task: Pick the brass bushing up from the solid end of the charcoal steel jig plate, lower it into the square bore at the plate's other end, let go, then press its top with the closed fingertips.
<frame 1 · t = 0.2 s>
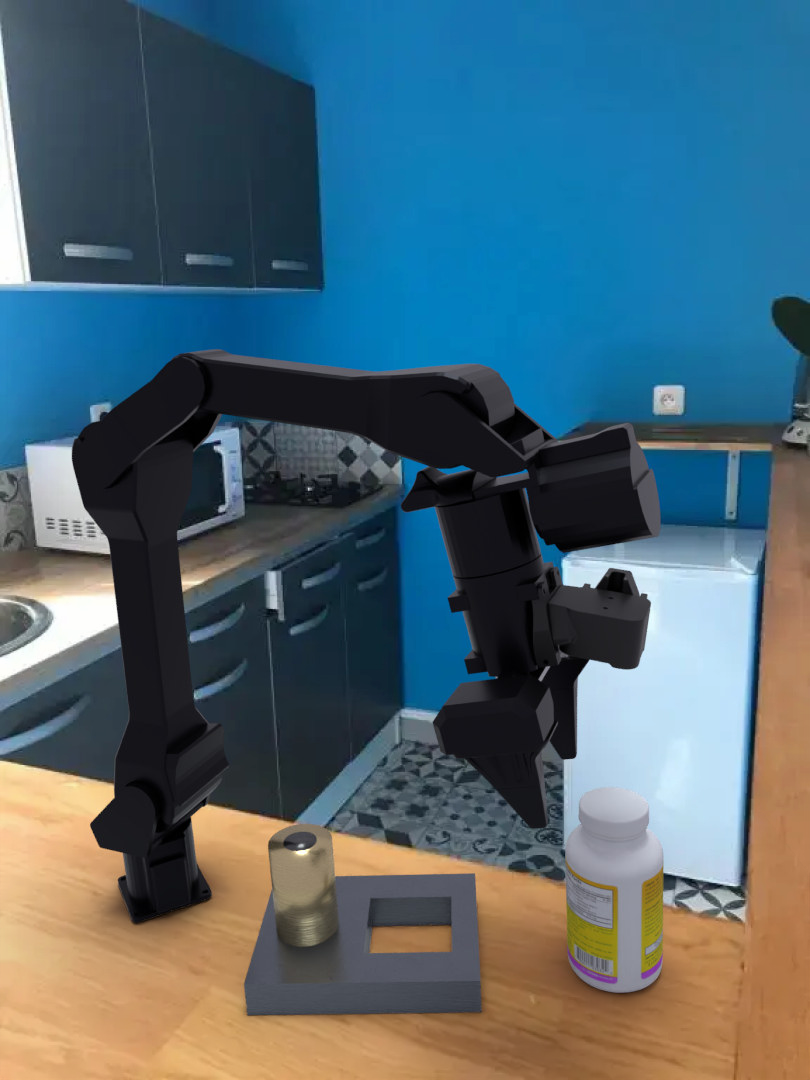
hand: (555, 790, 61), 15 cm above the countertop, tool pointing down, fingers open, 9 cm apart
bushing: (307, 925, 69), point 2 cm above the countertop, touching jig
supplement bottle: (613, 966, 67), on the countertop
jig: (370, 953, 69), on the countertop
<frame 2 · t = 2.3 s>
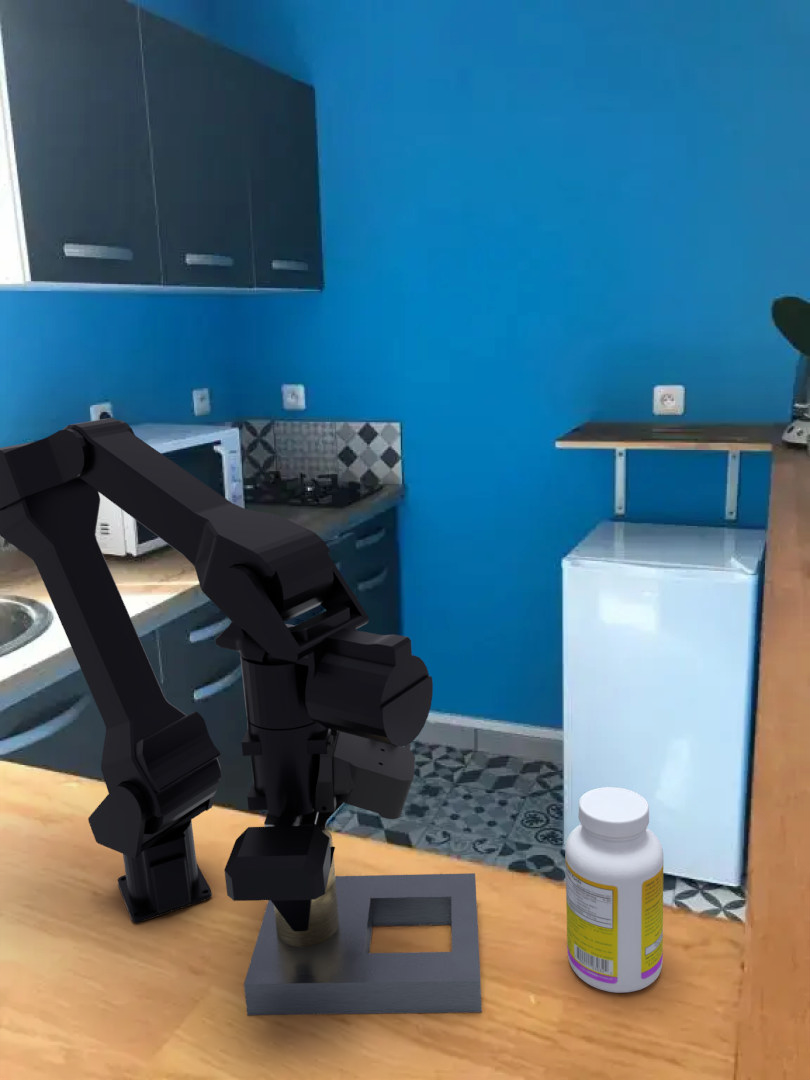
hand: (306, 907, 68), 4 cm above the countertop, tool pointing down, fingers closed on bushing, 5 cm apart
bushing: (307, 925, 69), point 2 cm above the countertop, touching gripper, jig
everything else where it was.
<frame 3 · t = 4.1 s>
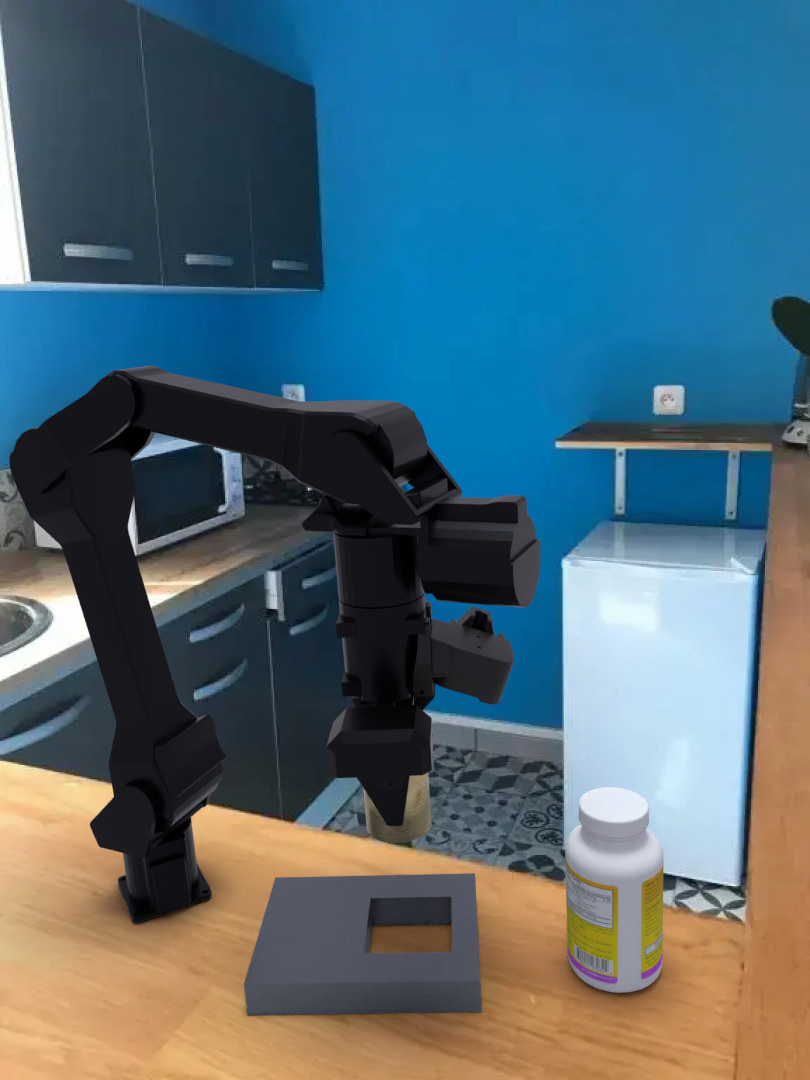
hand: (397, 805, 66), 12 cm above the countertop, tool pointing down, fingers closed on bushing, 5 cm apart
bushing: (399, 824, 66), point 11 cm above the countertop, touching gripper
everything else where it was.
when the fingers open (3 cm above the countertop, at t = 5.9 s): bushing drops 2 cm, resting in jig.
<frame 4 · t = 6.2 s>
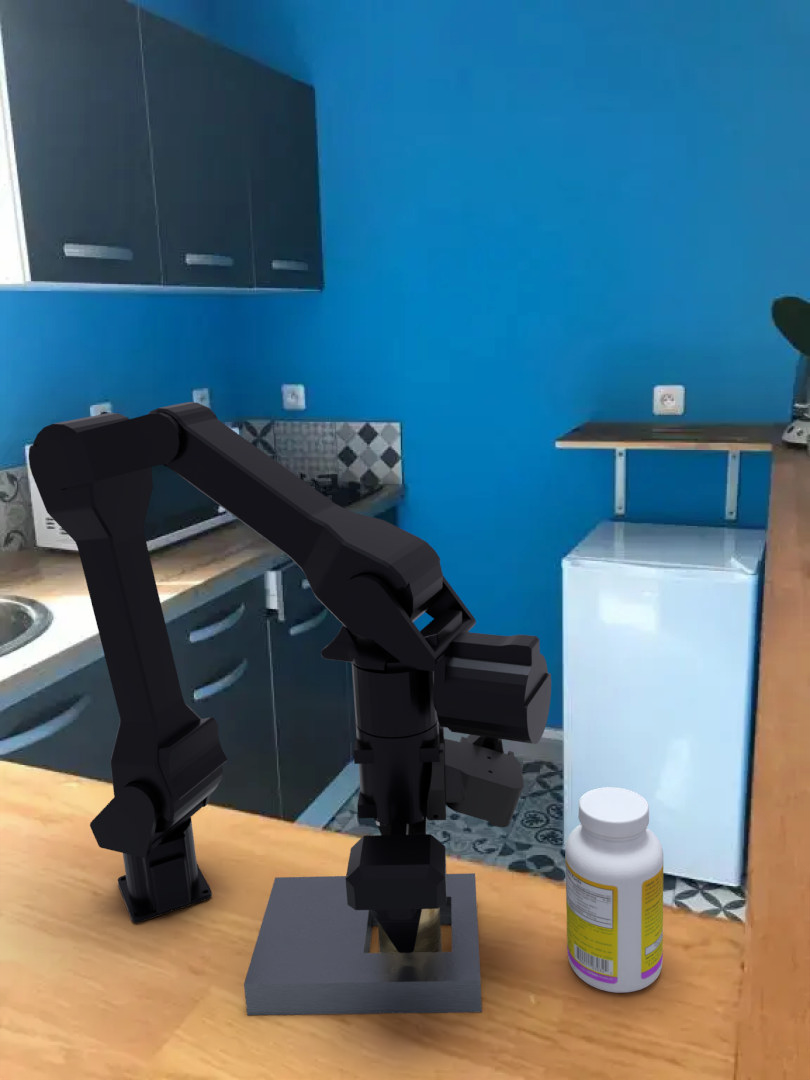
hand: (408, 915, 68), 3 cm above the countertop, tool pointing down, fingers open, 7 cm apart
bushing: (410, 953, 69), resting in jig
everything else where it was.
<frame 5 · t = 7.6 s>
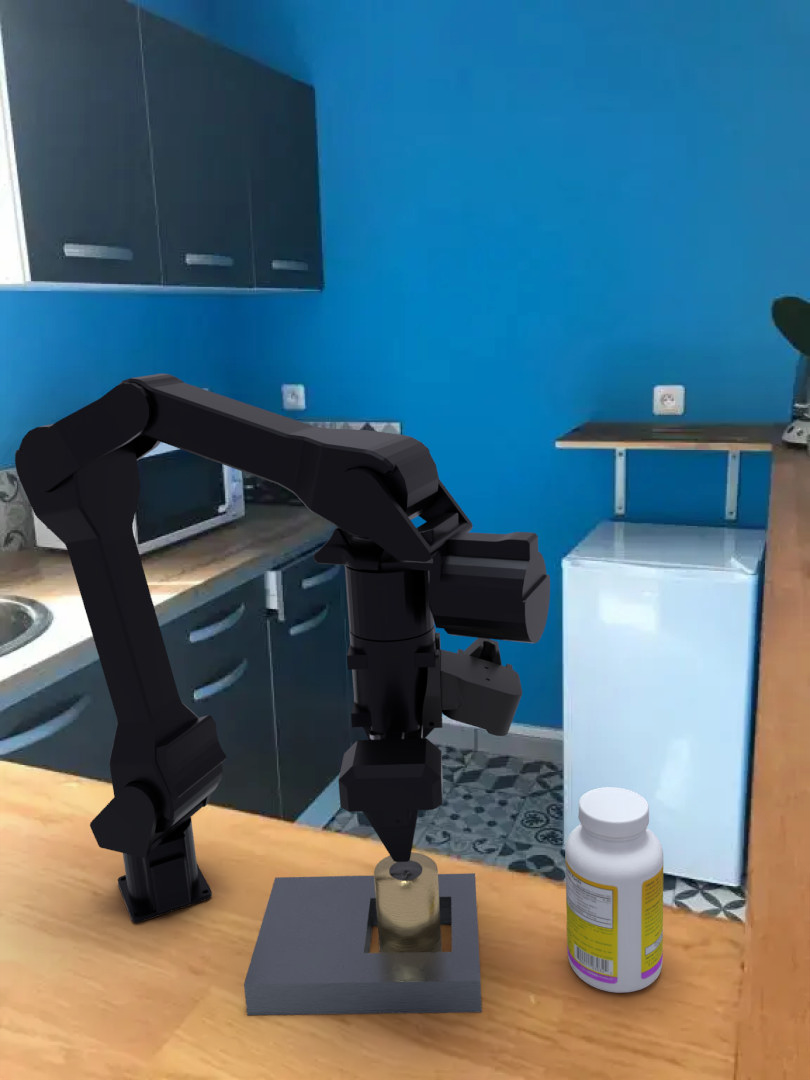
hand: (404, 833, 67), 10 cm above the countertop, tool pointing down, fingers open, 6 cm apart
nothing on the countertop moved.
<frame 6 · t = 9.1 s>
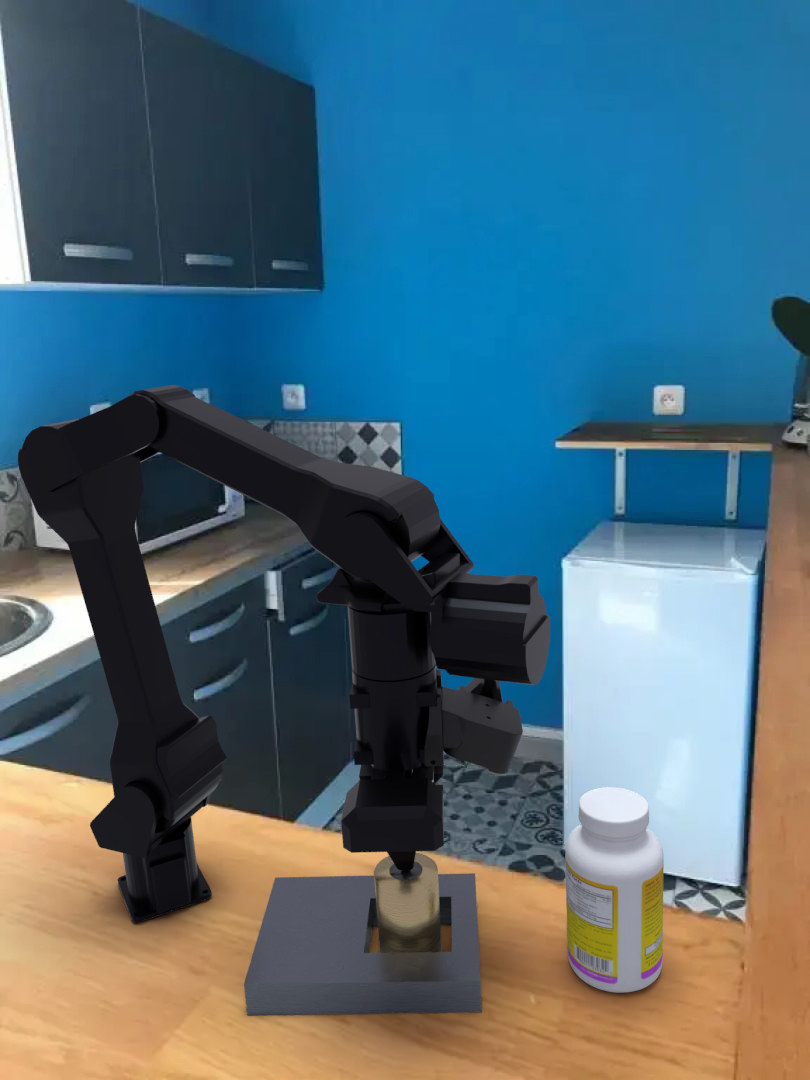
hand: (405, 867, 67), 7 cm above the countertop, tool pointing down, fingers closed
nothing on the countertop moved.
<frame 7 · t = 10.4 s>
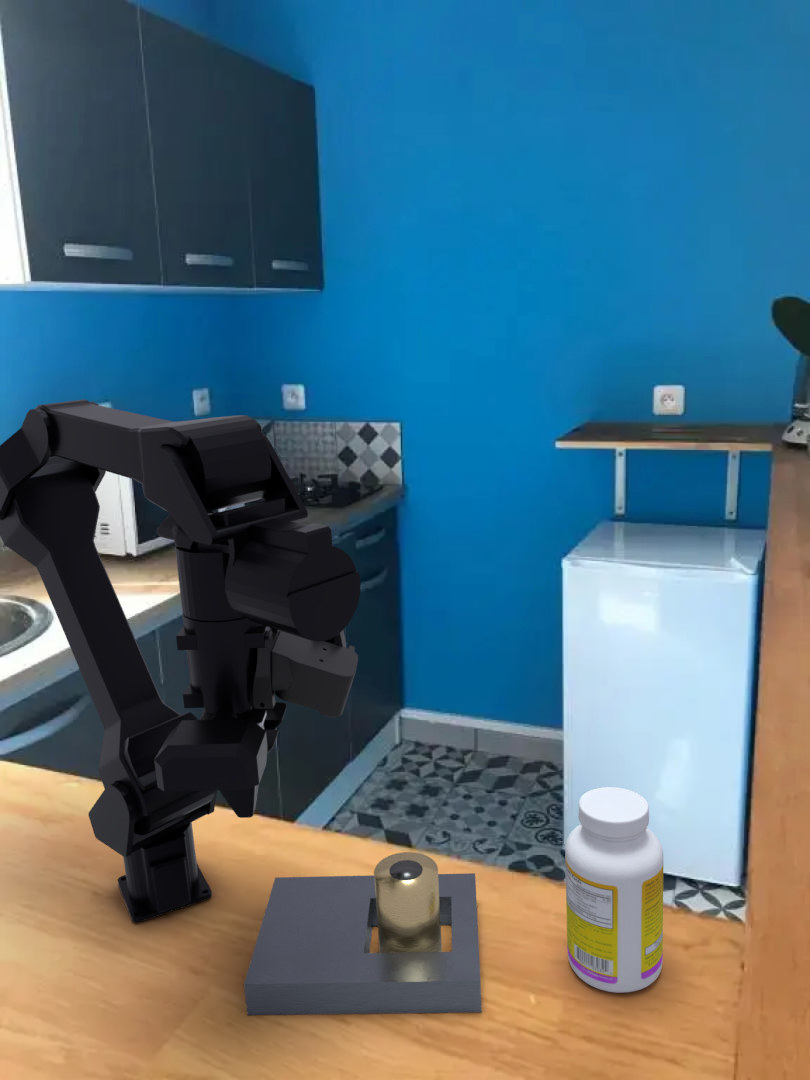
hand: (246, 814, 66), 12 cm above the countertop, tool pointing down, fingers closed
nothing on the countertop moved.
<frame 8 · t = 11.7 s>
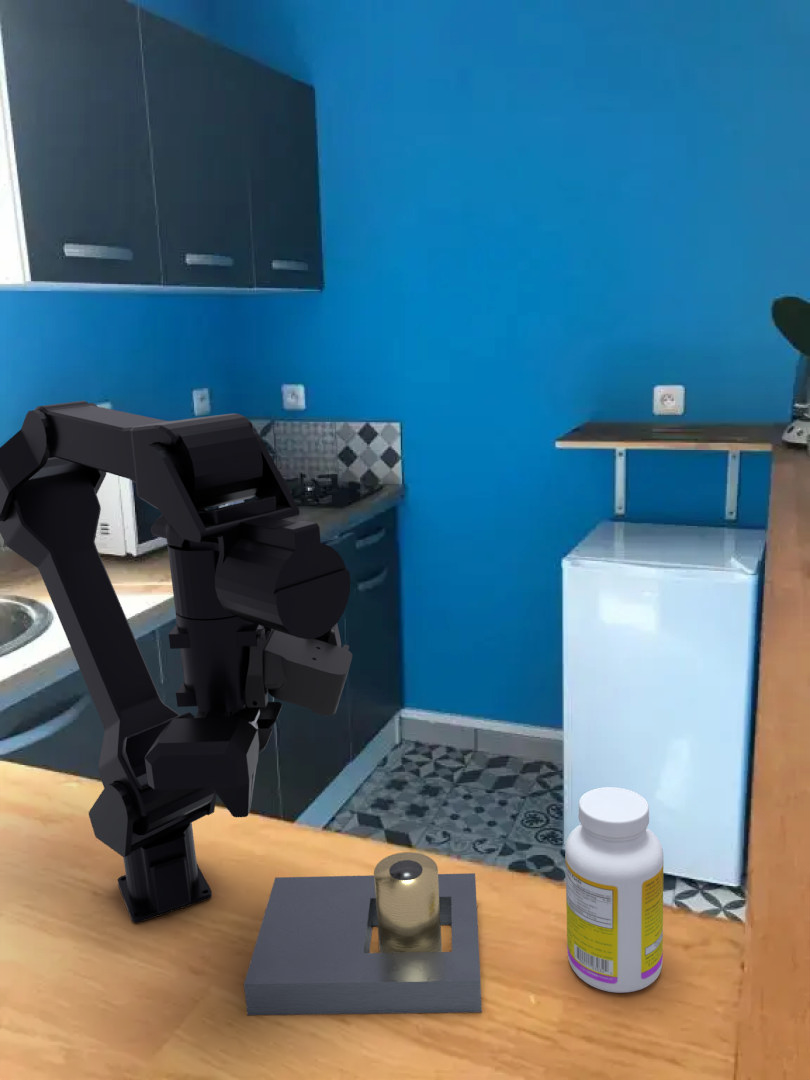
hand: (241, 814, 66), 12 cm above the countertop, tool pointing down, fingers closed
nothing on the countertop moved.
at the end: bushing 0.0 cm from the target spot on the jig, point 0.0 cm above the jig's base; bushing tilted 0°; the gripper is holding nothing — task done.
